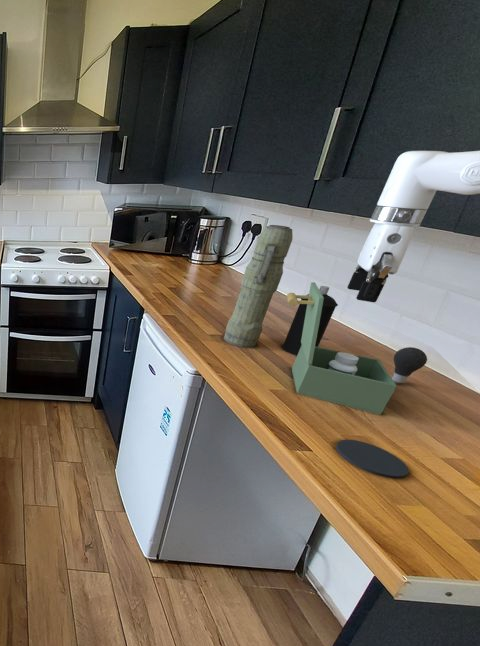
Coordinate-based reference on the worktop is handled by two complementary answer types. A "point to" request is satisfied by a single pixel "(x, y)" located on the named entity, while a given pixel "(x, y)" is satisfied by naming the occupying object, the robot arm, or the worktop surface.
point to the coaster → (372, 459)
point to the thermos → (258, 286)
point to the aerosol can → (296, 329)
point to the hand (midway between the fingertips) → (360, 295)
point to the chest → (344, 381)
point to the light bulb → (407, 363)
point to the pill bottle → (344, 363)
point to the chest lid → (309, 318)
